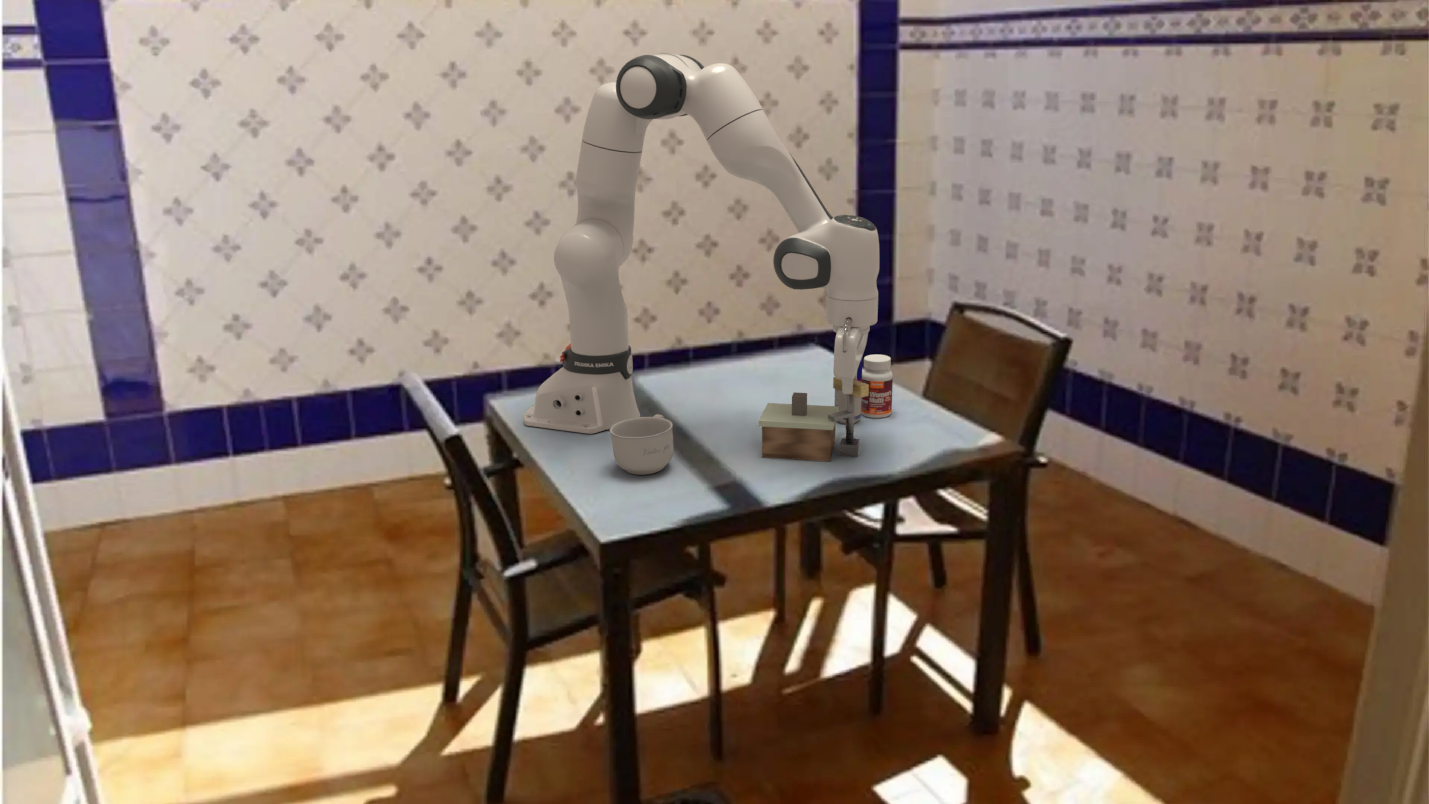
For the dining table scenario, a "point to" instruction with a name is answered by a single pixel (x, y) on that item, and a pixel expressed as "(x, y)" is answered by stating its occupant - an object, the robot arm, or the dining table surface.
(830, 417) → the key
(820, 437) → the box
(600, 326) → the robot arm
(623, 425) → the teacup
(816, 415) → the lid
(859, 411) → the beverage can
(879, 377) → the pill bottle
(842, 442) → the key socket
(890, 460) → the dining table surface
